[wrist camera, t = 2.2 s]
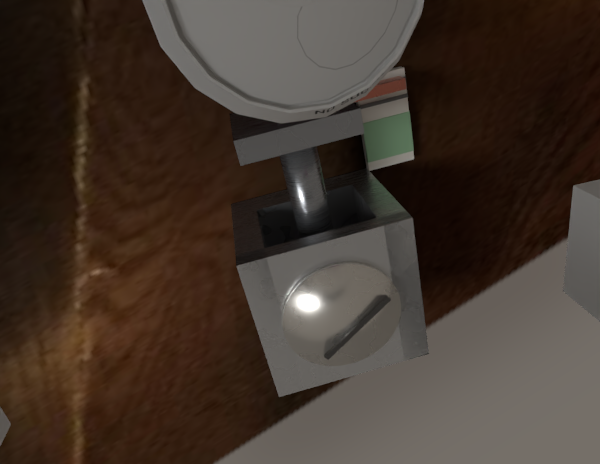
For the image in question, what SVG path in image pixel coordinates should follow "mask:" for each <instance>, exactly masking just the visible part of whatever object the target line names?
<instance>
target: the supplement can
mask: <svg viewBox="0 0 600 464" xmlns="http://www.w3.org/2000/svg"><path fill="white" fill-rule="evenodd" d="M142 1H143V3H144V6H145V9H146V11H147V14H148V16H149V19H150V21H151V24H152V26H153V29H154V31H155V34H156V36H157V39H158V41H159V44H160V46H161V48H162V49H163V50H164V51H165V53H166V54H167V55H168V56H169V57H170V59H171V60H172V61H173V62H174V64H175V65H176V66H177V67H178V68H179V70H180V71H181V72H182V73H183V74H184V76H185V77H186V78H187V79H188V81H189V82H190V83H191V84H192V85H193V87H194V88H195V89H197V90H199V91H200V92H202V93H204V94H205V95H207V96H208V97H210V98H212V99H213V100H215V101H216V102H218V103H220V104H221V105H223V106H225V107H226V108H228V109H229V110H231V111H233V112H234V113H236V114H239V115H244V116H249V117H253V118H258V119H263V120H267V121H272V122H277V123H288V122H295V121H302V120H309V119H316V118H323V117H327V116H329V115H331V114H333V113H335V112H336V111H338V110H340V109H342V108H344V107H346V106H348V105H350V104H352V103H353V102H355V101H357V100H359V99H361V98H363V97H365V96H366V95H367V94H368V93H369V92H370V91H371V90H372V89H373V88H374V87H375V86H376V85H377V84H378V83H379V82H380V80H381V79H382V78H383V77H384V76H385V75H386V74H387V73H388V72H389V71H390V70H391V69H392V68H393V67H394V66H395V65H396V64H397V62H398V61H399V60H400V58H401V56H402V54H403V52H404V50H405V47H406V45H407V43H408V41H409V39H410V37H411V35H412V33H413V31H414V29H415V27H416V25H417V23H418V21H419V19H420V17H421V14H422V10H423V4H424V0H142Z"/></svg>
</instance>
